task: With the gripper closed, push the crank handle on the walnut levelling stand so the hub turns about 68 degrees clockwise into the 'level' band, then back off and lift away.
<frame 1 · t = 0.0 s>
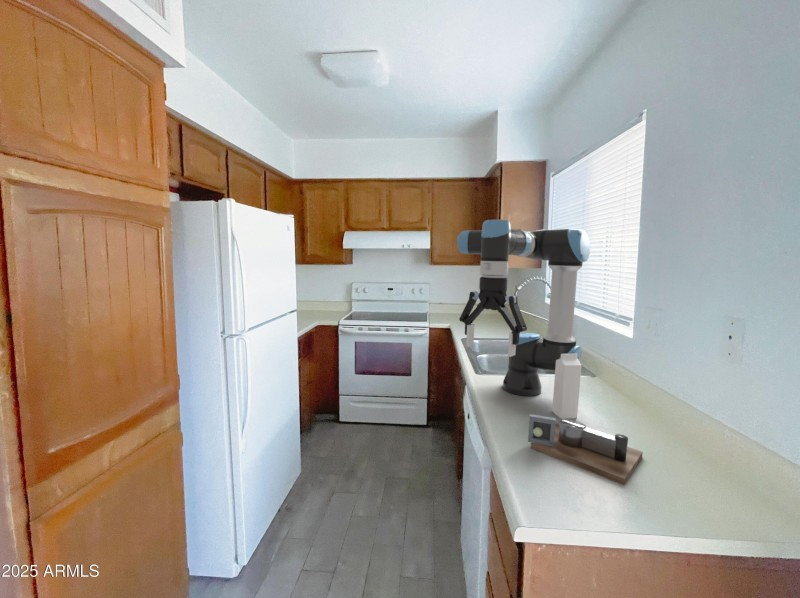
hand: (489, 350, 108), 28 cm above the counter, fingers open, 13 cm apart
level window: (540, 442, 109), resting on stand board
crank handle: (591, 437, 106), point 5 cm above the counter, hinge at 0.0°
stand board: (585, 452, 107), on the counter
milk: (564, 415, 132), on the counter
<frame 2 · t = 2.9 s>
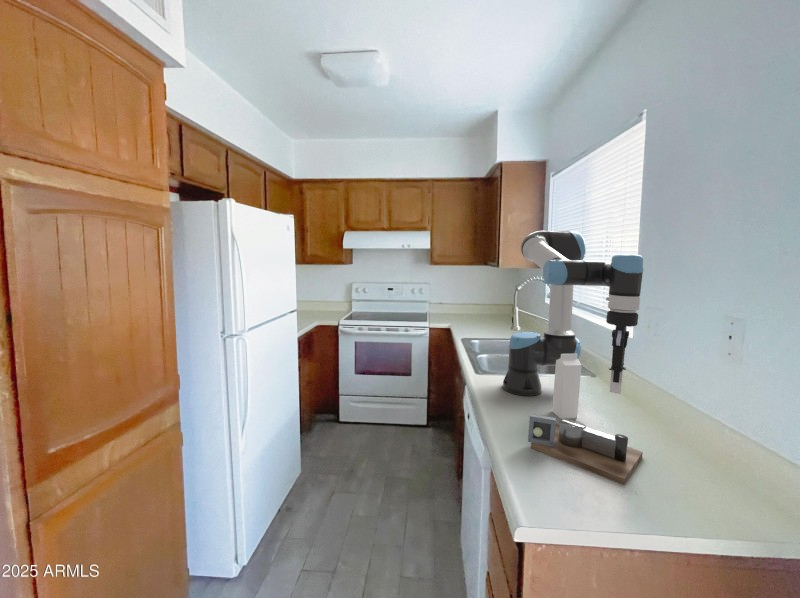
hand: (615, 392, 108), 17 cm above the counter, fingers closed
nothing on the counter moved.
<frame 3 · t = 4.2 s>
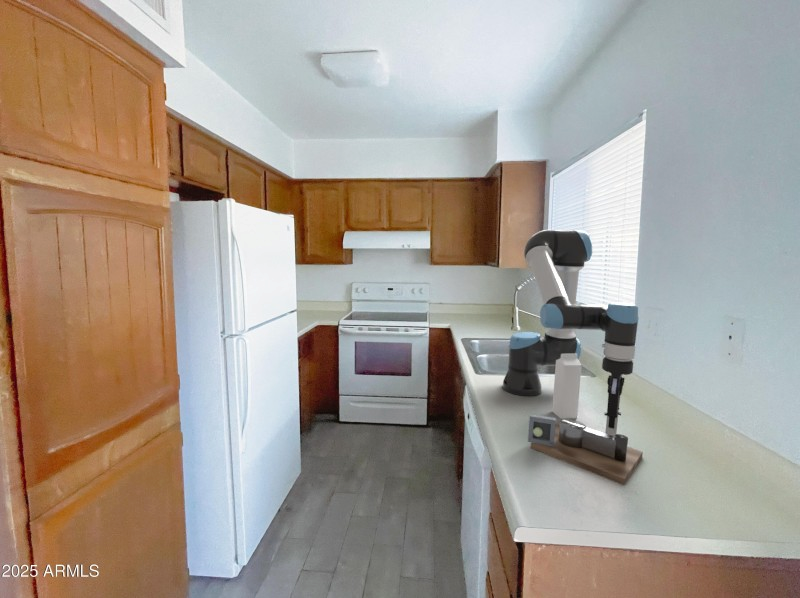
hand: (610, 436, 109), 3 cm above the counter, fingers closed
nothing on the counter moved.
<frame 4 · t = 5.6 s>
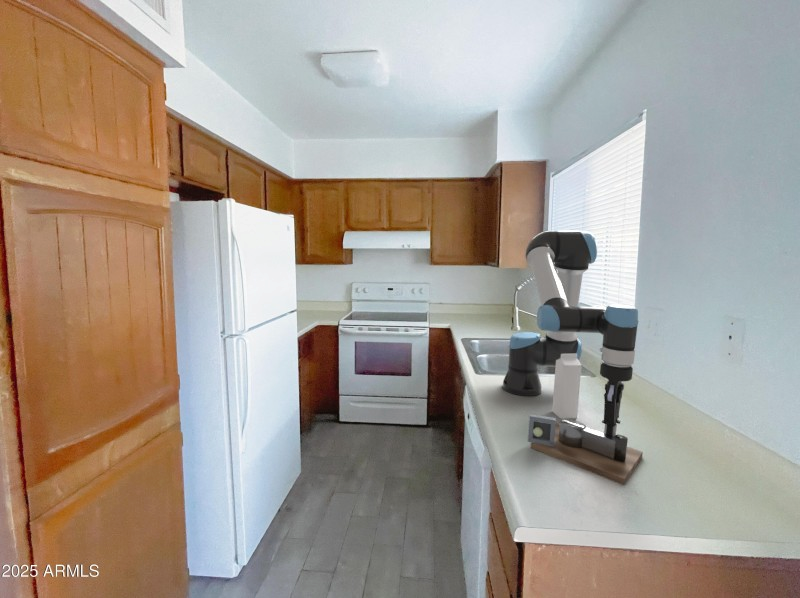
hand: (608, 445, 104), 4 cm above the counter, fingers closed
crank handle: (591, 437, 106), point 5 cm above the counter, hinge at 1.8°, touching gripper
everything else where it was.
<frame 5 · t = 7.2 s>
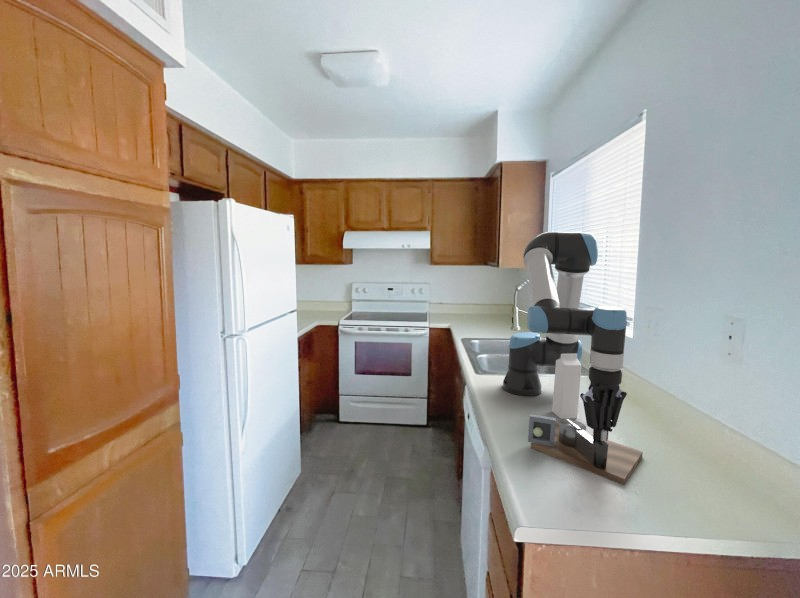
hand: (599, 452, 101), 4 cm above the counter, fingers closed
crank handle: (583, 440, 104), point 5 cm above the counter, hinge at 37.7°, touching gripper
everything else where it was.
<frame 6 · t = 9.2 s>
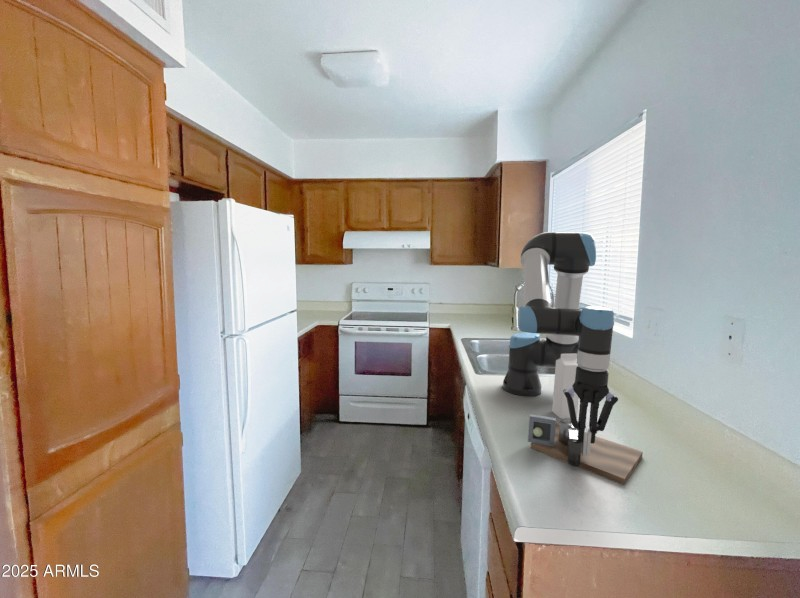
hand: (584, 453, 100), 4 cm above the counter, fingers closed
crank handle: (573, 439, 104), point 5 cm above the counter, hinge at 67.4°
everything else where it was.
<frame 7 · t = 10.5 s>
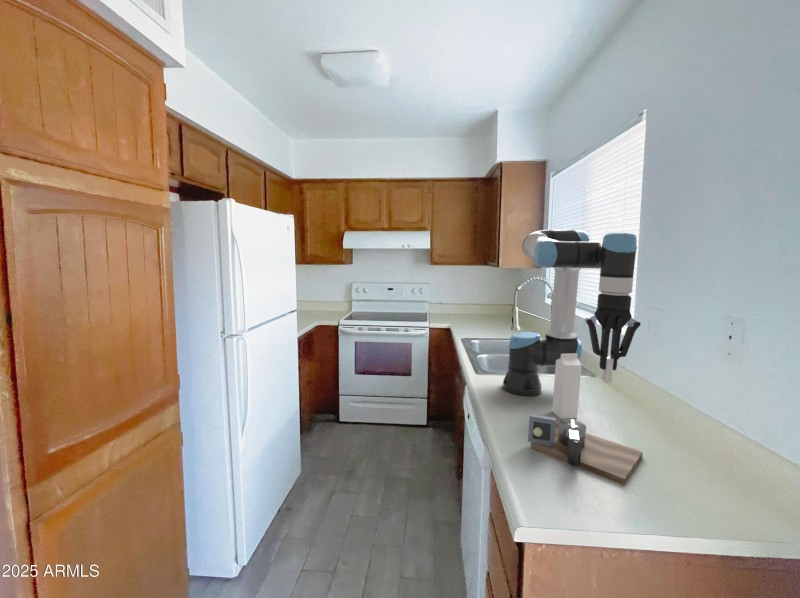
hand: (606, 381, 101), 22 cm above the counter, fingers closed
nothing on the counter moved.
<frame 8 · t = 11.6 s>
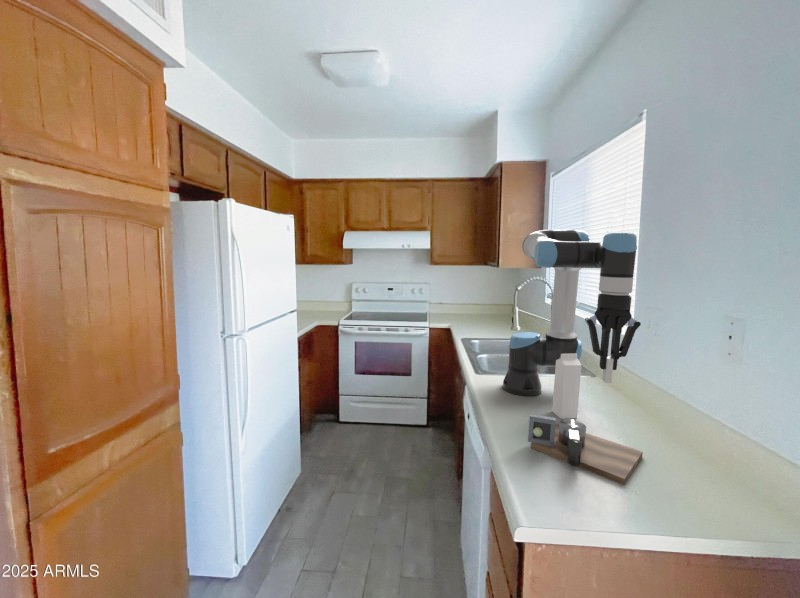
hand: (606, 380, 101), 22 cm above the counter, fingers closed
nothing on the counter moved.
at the end: crank handle at +67° (first picture: +0°) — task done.
